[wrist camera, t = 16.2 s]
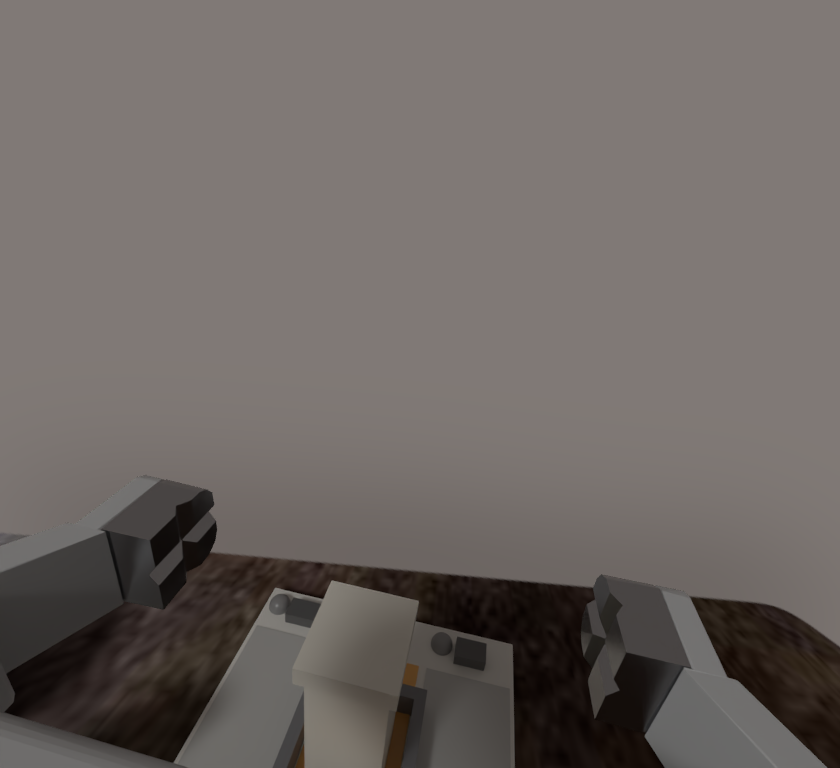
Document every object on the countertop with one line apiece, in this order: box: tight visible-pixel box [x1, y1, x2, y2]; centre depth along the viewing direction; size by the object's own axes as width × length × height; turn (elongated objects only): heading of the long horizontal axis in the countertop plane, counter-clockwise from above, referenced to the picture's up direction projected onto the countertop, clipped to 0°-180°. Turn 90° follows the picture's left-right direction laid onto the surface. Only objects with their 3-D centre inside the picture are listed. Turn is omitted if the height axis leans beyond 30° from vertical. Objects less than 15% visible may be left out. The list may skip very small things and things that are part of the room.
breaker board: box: [174, 588, 515, 768], centre depth 29 cm, size 21×18×3 cm
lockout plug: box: [292, 581, 419, 768], centre depth 25 cm, size 5×5×12 cm
